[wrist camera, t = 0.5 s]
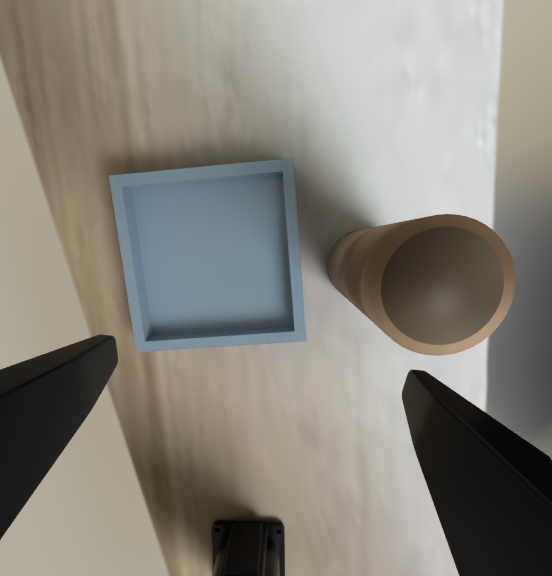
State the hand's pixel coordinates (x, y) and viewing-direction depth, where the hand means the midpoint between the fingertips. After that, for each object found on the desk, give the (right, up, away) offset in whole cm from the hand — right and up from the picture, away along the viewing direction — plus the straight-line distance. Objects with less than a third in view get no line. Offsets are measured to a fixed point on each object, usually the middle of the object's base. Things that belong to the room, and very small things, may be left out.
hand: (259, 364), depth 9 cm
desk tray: (-4, +5, +15) cm, 16 cm away
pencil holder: (+7, +4, +14) cm, 17 cm away
